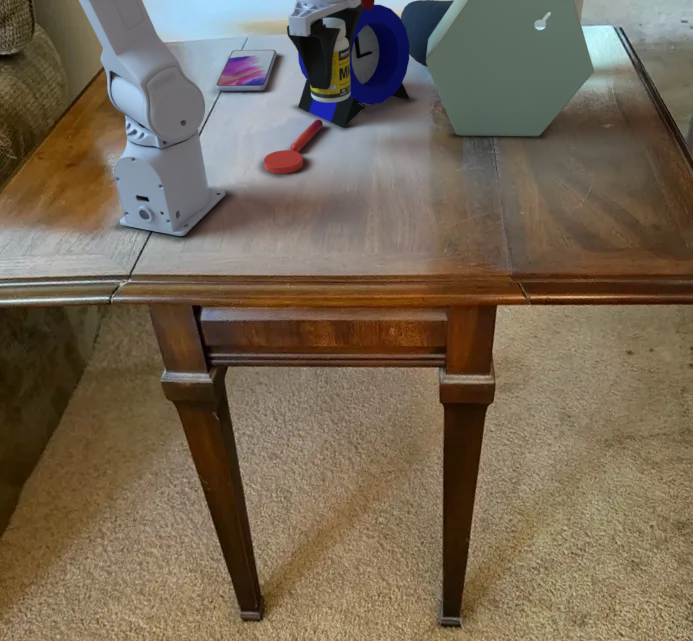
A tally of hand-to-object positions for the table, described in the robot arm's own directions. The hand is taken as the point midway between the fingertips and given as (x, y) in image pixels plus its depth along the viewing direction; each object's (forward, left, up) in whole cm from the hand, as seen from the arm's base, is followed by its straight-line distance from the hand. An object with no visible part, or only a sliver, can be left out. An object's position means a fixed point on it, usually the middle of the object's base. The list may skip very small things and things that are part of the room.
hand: (329, 79), depth 89 cm
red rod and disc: (-2, +4, -9) cm, 9 cm away
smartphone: (+19, +22, -8) cm, 30 cm away
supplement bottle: (0, 0, -2) cm, 2 cm away
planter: (+12, -18, -9) cm, 24 cm away
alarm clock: (+13, +3, -9) cm, 16 cm away
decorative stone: (+29, -5, -9) cm, 31 cm away
